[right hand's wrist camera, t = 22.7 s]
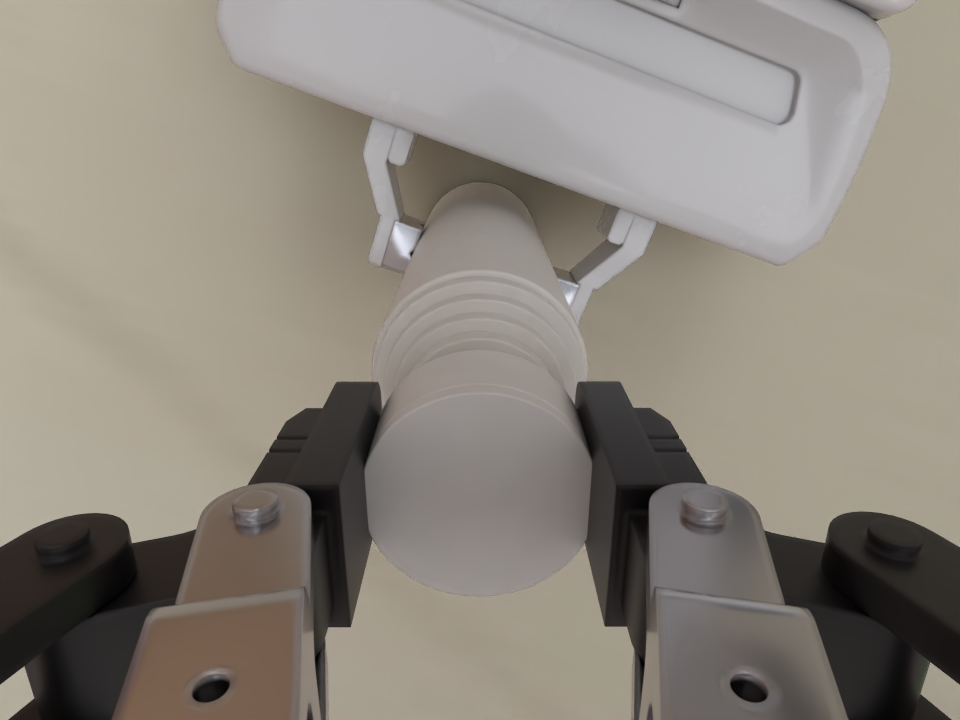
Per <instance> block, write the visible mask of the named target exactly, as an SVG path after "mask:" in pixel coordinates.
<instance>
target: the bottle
mask: <svg viewBox="0 0 960 720" xmlns="http://www.w3.org/2000/svg"><path fill="white" fill-rule="evenodd" d="M470 350H489V351H498V352H503V353H508V354H512V355H515V356H518V357H521V358H523V359H525V360H528V361H530V362H532V363H534V364H536V365H537V366H539V367H540V368H542V369H544V370H545V371H547V372H548V373H549V374H550V375H551V376H552V377H554V378H555V379H556V380H557V381H558V382H559V383H560V384H561V385H562V387H563V388H564V389H565V390H566V392H567V393H568V395H569V396H570V398H571V399H572V401H573V403H574V405H575V394H576V387H577V383H578V382H587V378H588V360H587V353H586V348H585V344H584V341H583V337H582V335H581V332H580V330H579V328H578V325H577V323H576V321H575V318H574V316H573V314H572V311H571V309H570V307H569V304H568V302H567V300H566V297H565V295H564V293H563V290H562V288H561V285H560V283H559V281H558V278H557V276H556V274H555V271H554V269H553V267H552V264H551V262H550V260H549V257H548V255H547V253H546V250H545V248H544V246H543V243H542V241H541V239H540V236H539V234H538V232H537V229H536V227H535V225H534V222H533V220H532V218H531V215H530V213H529V211H528V209H527V208H526V206H525V205H524V204H523V202H522V201H521V200H520V199H519V198H518V197H517V196H516V195H515V194H513V193H512V192H511V191H509V190H507V189H505V188H504V187H501V186H499V185H496V184H492V183H486V182H474V183H468V184H464V185H461V186H458V187H456V188H454V189H452V190H451V191H449V192H448V193H446V194H445V195H444V196H443V197H442V198H441V199H440V200H439V201H438V202H437V203H436V205H435V206H434V208H433V209H432V211H431V213H430V215H429V217H428V220H427V222H426V224H425V227H424V229H423V231H422V235H421V237H420V239H419V242H418V244H417V246H416V248H415V250H414V252H413V255H412V257H411V259H410V262H409V264H408V266H407V269H406V271H405V273H404V276H403V278H402V280H401V283H400V285H399V287H398V290H397V292H396V294H395V297H394V299H393V301H392V304H391V306H390V308H389V311H388V313H387V315H386V318H385V320H384V322H383V325H382V327H381V329H380V332H379V334H378V337H377V340H376V343H375V347H374V352H373V358H372V379H373V382H378V383H379V385H380V390H381V400H382V409H383V407H384V405H385V403H386V401H387V399H388V398H389V396H390V395H391V393H392V392H393V391H394V389H395V388H396V387H397V386H398V385H399V384H400V383H401V381H402V380H403V379H404V378H406V377H407V376H408V375H409V374H410V373H412V372H413V371H414V370H416V369H417V368H419V367H421V366H422V365H424V364H425V363H427V362H430V361H432V360H434V359H436V358H438V357H442V356H445V355H448V354H451V353H456V352H462V351H470Z"/></svg>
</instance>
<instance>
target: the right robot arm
mask: <svg viewBox="0 0 960 720" xmlns="http://www.w3.org/2000/svg"><path fill="white" fill-rule="evenodd" d="M575 407H576V409H577V411H578V415H579V418H580V421H581V424H582V428H583V431H584V434H585V437H586V441H587V444H588V447H589V451H590V454H591V457H592V474H591V488H590V502H589V516H588V531H587V540H586V541H585V545H586V549H587V553H588V558H589V562H590V566H591V570H592V574H593V579H594V583H595V587H596V591H597V596H598V600H599V604H600V608H601V612H602V617H603V621H604V625H605V626H627V628H628V631H629V635H630V639H631V642H632V645H633V647H634V653H633V662H632V703H631V720H951V719H950V718H949V717H948V716H946V715H945V714H944V713H943V712H941V711H940V710H939V709H938V708H937V707H935V706H934V705H933V704H932V703H931V702H929V701H928V700H927V699H926V698H924V697H923V696H922V695H921V694H920V693H921V690H922V687H923V684H924V680H925V677H926V674H927V671H928V667H929V664H930V662H931V663H932V664H934V665H935V666H936V667H938V668H939V669H940V670H942V671H943V672H944V673H945V674H947V675H948V676H949V677H951V678H952V679H953V680H955V681H956V682H957V683H959V684H960V547H958V546H956V545H955V544H953V543H951V542H950V541H948V540H946V539H944V538H943V537H941V536H939V535H938V534H936V533H934V532H932V531H931V530H929V529H927V528H925V527H923V526H921V525H918V524H916V523H914V522H911V521H908V520H905V519H903V518H899V517H895V516H892V515H887V514H882V513H875V512H851V513H845V514H842V515H840V516H837V517H836V518H834V519H833V520H832V521H831V523H830V525H829V528H828V533H827V537H826V542H825V543H821V542H816V541H810V540H805V539H800V538H794V537H789V536H784V535H779V534H775V533H771V532H768V531H764V529H763V525H762V522H761V519H760V516H759V514H758V512H757V510H756V509H755V508H754V506H752V505H751V504H750V503H749V502H748V501H747V500H745V499H744V498H742V497H741V496H739V495H737V494H735V493H733V492H731V491H728V490H726V489H723V488H720V487H716V486H712V485H708V484H707V482H706V481H705V479H704V477H703V476H702V474H701V472H700V471H699V469H698V467H697V466H696V464H695V462H694V461H693V459H692V457H691V456H690V454H689V452H687V451H686V447H685V446H684V444H683V442H682V441H681V439H679V436H678V434H677V432H676V431H675V429H674V427H673V425H672V424H671V422H670V421H669V420H667V419H666V418H664V417H663V416H661V415H660V414H658V413H657V412H655V411H654V410H652V409H651V408H633V406H632V404H631V402H630V400H629V398H628V396H627V394H626V393H625V391H624V389H623V387H622V385H621V383H620V382H578V383H577V387H576V394H575ZM381 412H382V400H381V390H380V385H379V383H378V382H336V384H335V386H334V387H333V389H332V391H331V393H330V395H329V397H328V399H327V401H326V403H325V405H324V407H323V408H306V409H304V410H303V411H301V412H300V413H298V414H297V415H295V416H294V417H292V418H291V419H289V420H288V421H286V423H285V424H284V426H283V428H282V429H281V431H280V433H279V434H278V436H277V440H275V441H274V442H273V444H272V446H271V447H270V449H269V453H267V454H266V456H265V457H264V459H263V461H262V462H261V464H260V465H259V467H258V469H257V470H256V472H255V474H254V475H253V477H252V479H251V480H250V482H249V484H248V485H247V486H244V487H240V488H237V489H234V490H232V491H229V492H227V493H225V494H223V495H221V496H219V497H218V498H216V499H215V500H213V501H212V502H211V503H210V504H209V505H208V506H207V507H206V508H205V509H204V510H203V512H202V514H201V516H200V519H199V522H198V526H197V529H195V530H193V531H189V532H186V533H183V534H178V535H174V536H169V537H164V538H158V539H153V540H148V541H142V542H137V543H132V541H131V537H130V532H129V528H128V525H127V524H126V522H125V521H124V520H122V519H121V518H119V517H116V516H114V515H109V514H101V513H88V514H79V515H73V516H68V517H64V518H60V519H57V520H54V521H51V522H48V523H45V524H43V525H40V526H38V527H36V528H34V529H32V530H30V531H28V532H26V533H24V534H22V535H21V536H19V537H17V538H16V539H14V540H12V541H10V542H9V543H7V544H5V545H4V546H2V547H0V684H1V683H3V682H4V681H5V680H7V679H8V678H9V677H11V676H12V675H13V674H15V673H16V672H17V671H18V670H20V669H21V668H22V667H24V666H25V669H26V673H27V676H28V679H29V682H30V685H31V689H32V692H33V695H34V699H33V700H32V701H31V702H29V703H28V704H27V705H26V706H25V707H23V708H22V709H21V710H20V711H18V712H17V713H16V714H15V715H14V716H12V717H11V718H10V719H9V720H329V702H328V662H327V652H326V643H325V636H326V633H327V629H328V627H351V624H352V620H353V616H354V612H355V607H356V603H357V599H358V595H359V591H360V587H361V583H362V579H363V575H364V571H365V567H366V563H367V559H368V555H369V551H370V546H371V542H372V537H371V535H370V533H369V528H368V514H367V501H366V487H365V473H364V467H365V464H366V461H367V457H368V454H369V451H370V447H371V444H372V441H373V438H374V434H375V431H376V428H377V424H378V421H379V418H380V415H381Z"/></svg>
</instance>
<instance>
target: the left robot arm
mask: <svg viewBox="0 0 960 720" xmlns="http://www.w3.org/2000/svg"><path fill="white" fill-rule="evenodd" d="M916 1H917V0H219V2H218V6H217V11H216V27H217V31H218V33H219V35H220V38H221V40H222V42H223V44H224V47H225V49H226V51H227V54H228V56H229V58H230V60H231V62H232V63H233V64H234V65H235V66H236V67H238V68H240V69H242V70H245V71H248V72H250V73H253V74H256V75H258V76H261V77H264V78H267V79H269V80H272V81H275V82H277V83H280V84H283V85H286V86H288V87H291V88H294V89H297V90H299V91H302V92H305V93H307V94H310V95H313V96H316V97H318V98H321V99H324V100H326V101H329V102H332V103H335V104H337V105H340V106H343V107H346V108H348V109H351V110H354V111H356V112H359V113H362V114H365V115H367V116H370V117H373V118H372V121H371V125H370V129H369V132H368V136H367V139H366V143H365V146H364V150H363V157H364V162H365V166H366V170H367V174H368V178H369V182H370V186H371V190H372V194H373V198H374V202H375V207H376V211H377V214H380V215H381V216H380V219H379V223H378V226H377V229H376V233H375V236H374V239H373V243H372V246H371V250H370V253H369V257H368V263H370V264H373V265H375V266H378V267H382V268H385V269H388V270H391V271H394V272H398V273H401V274H404V273H405V271H406V269H407V266H408V264H409V262H410V259H411V257H412V255H413V252H414V250H415V248H416V246H417V244H418V242H419V239H420V237H421V235H422V231H423V228H424V225H425V222H424V221H422V220H419V219H416V218H414V217H411V216H408V215H406V214H404V208H403V203H402V198H401V193H400V188H399V184H398V179H397V174H396V169H395V165H398V166H402V165H404V164H406V163H407V162H408V161H410V160H411V157H412V154H413V150H414V147H415V144H416V141H417V138H418V135H422V136H425V137H427V138H430V139H433V140H436V141H438V142H441V143H444V144H446V145H449V146H452V147H455V148H457V149H460V150H463V151H466V152H468V153H471V154H474V155H476V156H479V157H482V158H485V159H487V160H490V161H493V162H495V163H498V164H501V165H504V166H506V167H509V168H512V169H515V170H517V171H520V172H523V173H525V174H528V175H531V176H534V177H536V178H539V179H542V180H545V181H547V182H550V183H553V184H555V185H558V186H561V187H564V188H566V189H569V190H572V191H575V192H577V193H580V194H583V195H585V196H588V197H591V198H594V199H596V200H599V201H602V202H605V203H606V206H605V208H604V211H603V213H602V216H601V218H600V221H599V224H598V226H597V228H598V231H599V232H600V233H601V234H602V235H603V236H604V237H605V238H606V239H607V240H606V241H604V242H603V243H602V244H601V245H600V246H598V247H597V248H596V249H595V250H594V251H592V252H591V253H590V254H589V255H588V256H587V257H585V258H584V259H583V260H582V261H581V262H579V263H578V264H577V265H576V266H575V267H574V268H572V269H571V270H570V272H568V271H565V270H562V269H559V268H556V267H553V266H552V267H553V269H554V271H555V274H556V276H557V278H558V281H559V283H560V285H561V288H562V290H563V293H564V295H565V297H566V300H567V302H568V304H569V307H570V309H571V311H572V314H573V316H574V318H575V321H576V323H577V325H578V324H579V322H580V320H581V317H582V315H583V313H584V310H585V308H586V305H587V303H588V301H589V298H590V296H591V294H592V291H593V289H595V290H598V289H599V288H600V287H602V286H603V285H604V284H605V283H607V282H608V281H609V280H611V279H612V278H613V277H615V276H616V275H617V274H619V273H620V272H621V271H623V270H624V269H625V268H626V267H628V266H629V265H630V264H632V263H633V262H634V261H636V260H637V259H638V258H640V257H641V256H642V255H643V254H644V252H645V249H646V247H647V245H648V243H649V240H650V238H651V236H652V234H653V231H654V229H655V227H656V225H657V222H659V223H662V224H664V225H667V226H670V227H673V228H675V229H678V230H681V231H684V232H686V233H689V234H692V235H694V236H697V237H700V238H703V239H705V240H708V241H711V242H714V243H716V244H719V245H722V246H724V247H727V248H730V249H733V250H735V251H738V252H741V253H744V254H746V255H749V256H752V257H754V258H757V259H760V260H763V261H765V262H768V263H771V264H774V265H778V266H781V265H785V264H787V263H789V262H791V261H793V260H795V259H796V258H798V257H800V256H801V255H803V254H805V253H806V252H808V251H810V250H811V249H813V248H814V247H815V246H816V245H817V244H818V243H819V242H820V241H821V239H822V238H823V237H824V235H825V234H826V232H827V230H828V229H829V227H830V225H831V223H832V221H833V220H834V218H835V216H836V214H837V212H838V210H839V208H840V206H841V204H842V202H843V200H844V198H845V196H846V194H847V192H848V190H849V188H850V186H851V183H852V181H853V179H854V177H855V175H856V173H857V171H858V168H859V166H860V164H861V161H862V159H863V157H864V154H865V152H866V150H867V147H868V145H869V143H870V140H871V138H872V135H873V133H874V130H875V128H876V125H877V123H878V120H879V117H880V115H881V112H882V109H883V107H884V103H885V100H886V97H887V93H888V89H889V84H890V78H891V66H892V63H891V53H890V48H889V44H888V41H887V39H886V36H885V35H884V33H883V31H882V30H881V28H880V27H879V25H878V24H877V23H876V22H875V21H878V20H881V19H884V18H887V17H890V16H892V15H895V14H897V13H900V12H902V11H904V10H906V9H908V8H910V7H911V6H912V5H913V4H914V3H915V2H916Z"/></svg>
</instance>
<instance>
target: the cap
mask: <svg viewBox="0 0 960 720" xmlns="http://www.w3.org/2000/svg"><path fill="white" fill-rule="evenodd" d="M364 473H365V487H366V501H367V514H368V528H369V533H370V535H371V537H372V539H373V541H374V542H375V544H376V545H377V547H378V548H379V550H380V551H381V552H382V553H383V554H384V556H385V557H386V558H387V559H388V560H389V561H390V562H391V563H392V564H393V565H394V566H395V567H397V568H398V569H399V570H400V571H402V572H403V573H405V574H406V575H407V576H409V577H410V578H412V579H414V580H416V581H418V582H420V583H422V584H424V585H426V586H429V587H431V588H434V589H437V590H440V591H444V592H447V593H452V594H458V595H464V596H495V595H501V594H508V593H512V592H516V591H519V590H523V589H525V588H528V587H531V586H533V585H536V584H538V583H539V582H541V581H543V580H545V579H547V578H549V577H550V576H552V575H553V574H555V573H556V572H558V571H559V570H560V569H561V568H563V567H564V566H565V565H566V564H567V563H568V562H570V561H571V559H572V558H573V557H574V556H575V555H576V554H577V553H578V552H579V550H580V549H581V547H582V546H583V544H584V543H585V541H586V540H587V531H588V516H589V502H590V488H591V474H592V457H591V454H590V451H589V447H588V444H587V441H586V437H585V434H584V431H583V428H582V424H581V421H580V418H579V415H578V411H577V409H576V407H575V405H574V403H573V401H572V399H571V398H570V396H569V395H568V393H567V392H566V390H565V389H564V388H563V387H562V385H561V384H560V383H559V382H558V381H557V380H556V379H555V378H554V377H552V376H551V375H550V374H549V373H548V372H547V371H545V370H544V369H542V368H540V367H539V366H537V365H536V364H534V363H532V362H530V361H528V360H525V359H523V358H521V357H518V356H515V355H512V354H508V353H503V352H498V351H489V350H470V351H462V352H456V353H451V354H448V355H445V356H442V357H438V358H436V359H434V360H432V361H430V362H427V363H425V364H424V365H422V366H421V367H419V368H417V369H416V370H414V371H413V372H412V373H410V374H409V375H408V376H407V377H406V378H404V379H403V380H402V381H401V383H400V384H399V385H398V386H397V387H396V388H395V389H394V391H393V392H392V393H391V395H390V396H389V398H388V399H387V401H386V403H385V405H384V407H383V409H382V412H381V415H380V418H379V421H378V424H377V428H376V431H375V434H374V438H373V441H372V444H371V447H370V451H369V454H368V457H367V461H366V464H365V467H364Z"/></svg>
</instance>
